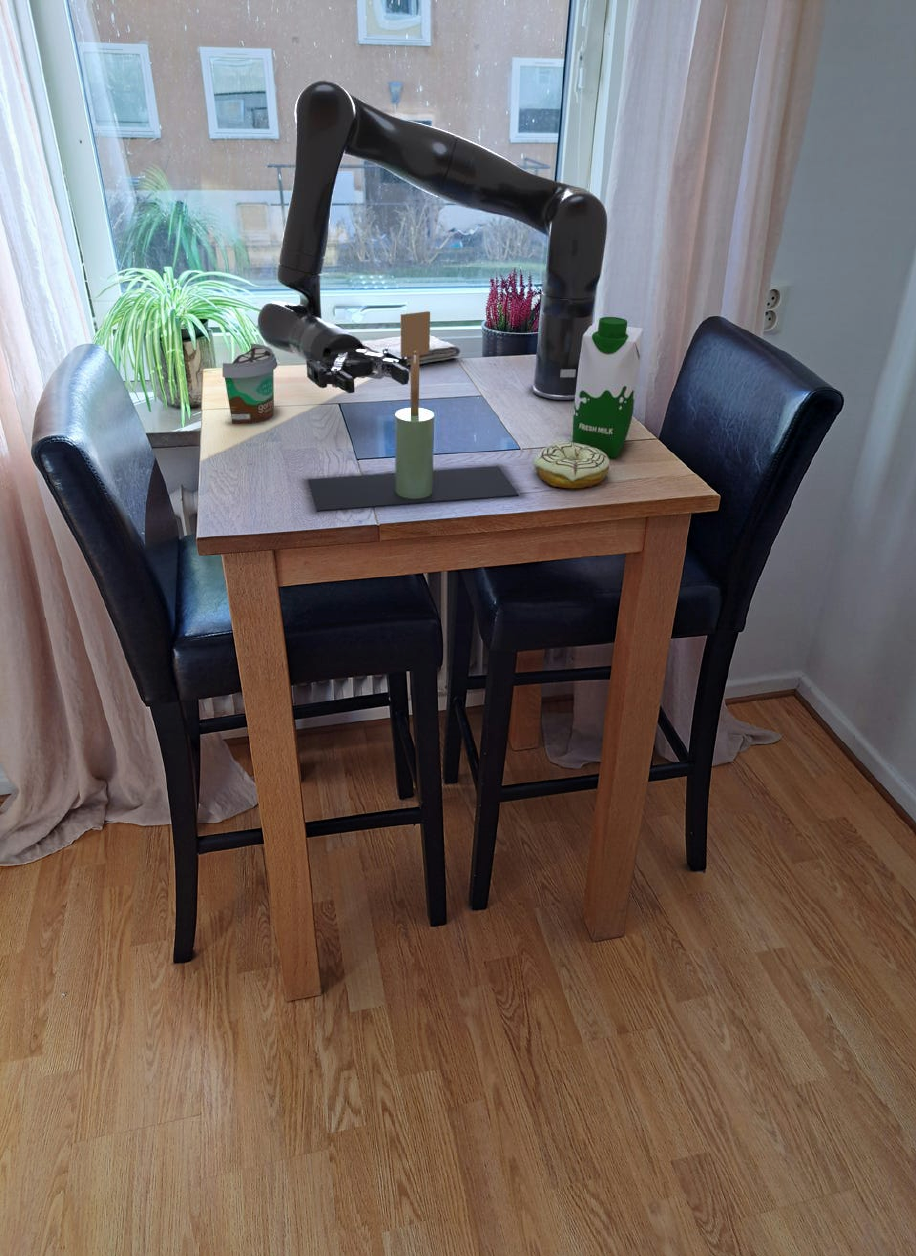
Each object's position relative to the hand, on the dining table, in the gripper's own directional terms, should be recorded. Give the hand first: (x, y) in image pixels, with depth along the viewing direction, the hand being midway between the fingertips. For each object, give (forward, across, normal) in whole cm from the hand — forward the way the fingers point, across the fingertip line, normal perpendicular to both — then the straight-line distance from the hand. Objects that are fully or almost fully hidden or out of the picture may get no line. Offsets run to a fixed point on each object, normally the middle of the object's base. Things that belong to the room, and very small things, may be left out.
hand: (379, 382), depth 125 cm
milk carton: (+11, +33, +12) cm, 37 cm away
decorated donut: (+18, +22, +12) cm, 31 cm away
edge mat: (+11, -1, +12) cm, 16 cm away
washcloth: (-43, +28, +12) cm, 53 cm away
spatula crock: (+12, -1, +12) cm, 17 cm away
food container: (-25, -9, +12) cm, 29 cm away
